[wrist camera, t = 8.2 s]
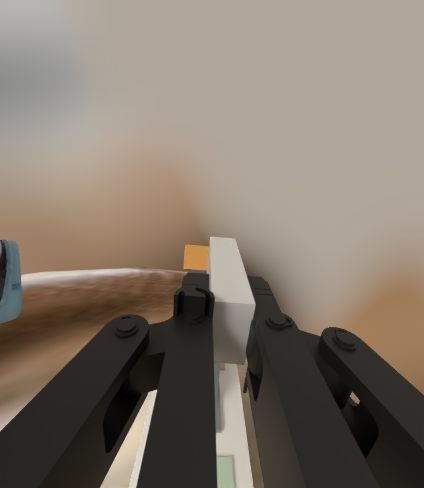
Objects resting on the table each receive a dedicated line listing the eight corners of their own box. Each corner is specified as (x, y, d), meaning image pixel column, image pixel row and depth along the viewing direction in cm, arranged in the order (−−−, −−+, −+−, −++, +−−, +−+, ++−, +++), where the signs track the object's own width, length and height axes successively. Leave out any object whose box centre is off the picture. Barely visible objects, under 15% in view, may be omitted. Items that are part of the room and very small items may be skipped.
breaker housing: (164, 365, 42) (165, 336, 39) (230, 369, 42) (234, 340, 40) (120, 568, 21) (116, 532, 19) (250, 571, 22) (261, 536, 19)
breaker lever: (174, 389, 30) (186, 245, 31) (220, 391, 31) (231, 248, 31) (172, 401, 28) (185, 244, 29) (221, 403, 28) (233, 248, 29)
